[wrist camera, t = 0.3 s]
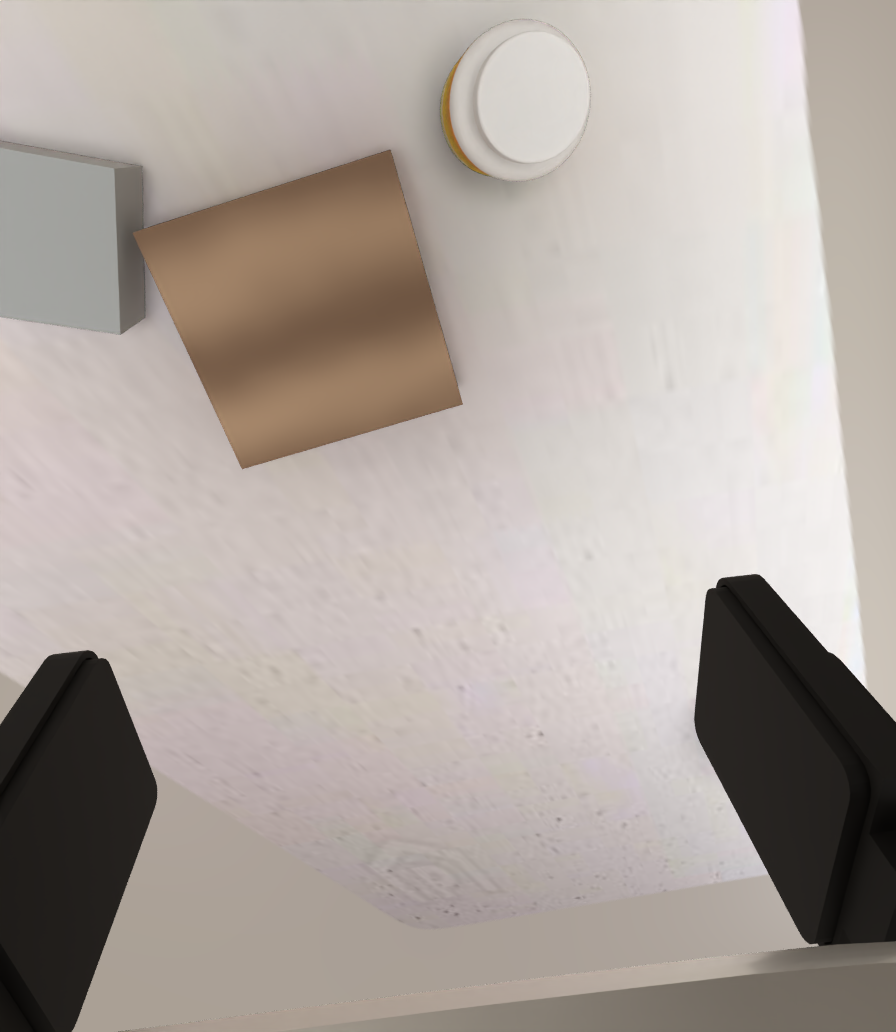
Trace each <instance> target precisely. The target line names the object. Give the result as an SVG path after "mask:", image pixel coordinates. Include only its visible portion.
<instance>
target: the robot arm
mask: <svg viewBox="0 0 896 1032" xmlns="http://www.w3.org/2000/svg"><path fill="white" fill-rule="evenodd" d="M694 721H695V728H696V733H697V736H698V739H699V741H700V743H701V745H702V747H703V749H704V751H705V753H706V755H707V757H708V759H709V760H710V762H711V764H712V766H713V768H714V770H715V772H716V774H717V776H718V778H719V780H720V781H721V783H722V785H723V787H724V789H725V791H726V793H727V795H728V797H729V799H730V801H731V803H732V804H733V806H734V808H735V810H736V812H737V814H738V816H739V818H740V820H741V822H742V824H743V825H744V827H745V829H746V831H747V833H748V835H749V837H750V839H751V841H752V843H753V845H754V847H755V848H756V850H757V852H758V854H759V856H760V858H761V860H762V862H763V864H764V866H765V868H766V869H767V871H768V873H769V875H770V877H771V879H772V881H773V883H774V885H775V887H776V889H777V890H778V892H779V894H780V896H781V898H782V900H783V902H784V904H785V906H786V908H787V909H788V911H789V913H790V915H791V917H792V919H793V921H794V923H795V925H796V927H797V929H798V931H799V932H800V934H801V936H802V937H803V938H804V940H805V941H806V942H808V943H809V944H816V943H818V945H819V946H817V947H807V948H799V949H798V948H797V949H788V950H778V951H768V952H759V953H748V954H739V955H728V956H719V957H711V958H701V959H693V960H685V961H676V962H668V963H660V964H651V965H643V966H635V967H626V968H618V969H610V970H602V971H593V972H585V973H576V974H568V975H560V976H551V977H543V978H534V979H526V980H518V981H510V982H502V983H494V984H486V985H478V986H470V987H463V988H455V989H446V990H439V991H430V992H422V993H414V994H407V995H398V996H390V997H382V998H375V999H366V1000H358V1001H351V1002H343V1003H335V1004H327V1005H319V1006H312V1007H304V1008H295V1009H287V1010H280V1011H272V1012H265V1013H257V1014H249V1015H242V1016H234V1017H227V1018H219V1019H211V1020H204V1021H196V1022H189V1023H181V1024H174V1025H166V1026H158V1027H150V1028H143V1029H135V1030H128V1031H120V1032H896V722H895V721H894V720H893V719H892V718H891V717H890V715H889V714H888V713H887V712H886V711H885V710H884V709H883V707H882V706H881V705H880V704H879V703H878V702H877V701H876V700H875V698H874V697H873V696H872V695H871V694H870V693H869V692H868V690H867V689H866V688H865V687H864V686H863V685H862V684H861V683H860V681H859V680H858V679H857V678H856V677H855V676H854V675H853V674H852V672H851V671H850V670H849V669H848V668H847V667H846V666H845V665H844V663H843V662H842V661H841V660H840V659H839V658H837V657H836V656H835V655H834V654H832V653H829V652H828V651H827V650H826V649H825V648H824V647H823V646H822V644H821V643H820V642H819V641H818V640H817V639H816V638H815V636H814V635H813V634H812V633H811V632H810V631H809V630H808V628H807V627H806V626H805V625H804V624H803V623H802V622H801V620H800V619H799V618H798V617H797V616H796V615H795V614H794V613H793V611H792V610H791V609H790V608H789V607H788V606H787V605H786V603H785V602H784V601H783V600H782V599H781V598H780V597H779V595H778V594H777V593H776V592H775V591H774V590H773V589H772V587H771V586H770V585H769V584H768V583H767V582H766V581H765V579H764V578H763V577H761V576H760V575H757V574H752V575H743V576H735V577H726V578H721V579H720V580H719V581H718V583H717V586H716V588H711V589H709V590H708V591H707V594H706V600H705V610H704V621H703V631H702V642H701V652H700V663H699V673H698V684H697V695H696V705H695V716H694ZM156 800H157V785H156V781H155V778H154V775H153V773H152V770H151V768H150V765H149V762H148V760H147V757H146V755H145V752H144V750H143V747H142V745H141V742H140V740H139V737H138V734H137V732H136V729H135V727H134V724H133V722H132V719H131V717H130V714H129V712H128V709H127V706H126V704H125V701H124V699H123V696H122V694H121V691H120V689H119V686H118V684H117V681H116V678H115V676H114V673H113V671H112V668H111V666H110V664H109V662H108V661H107V660H106V659H104V658H100V659H98V657H97V655H96V654H95V653H94V652H93V651H89V650H87V651H78V652H69V653H61V654H53V655H50V656H48V657H47V658H46V659H45V661H44V662H43V663H42V665H41V666H40V668H39V669H38V671H37V672H36V674H35V675H34V676H33V678H32V679H31V681H30V682H29V684H28V685H27V687H26V688H25V690H24V691H23V692H22V694H21V695H20V697H19V698H18V700H17V701H16V703H15V704H14V706H13V707H12V708H11V710H10V711H9V713H8V714H7V716H6V717H5V719H4V720H3V722H2V723H1V724H0V1032H72V1030H73V1029H74V1026H75V1024H76V1022H77V1019H78V1017H79V1014H80V1011H81V1009H82V1005H83V1003H84V1000H85V997H86V995H87V992H88V989H89V987H90V984H91V981H92V978H93V975H94V973H95V970H96V967H97V965H98V961H99V959H100V956H101V954H102V951H103V948H104V945H105V943H106V940H107V937H108V934H109V932H110V929H111V926H112V924H113V921H114V918H115V915H116V912H117V910H118V907H119V904H120V902H121V899H122V896H123V893H124V891H125V888H126V885H127V882H128V879H129V877H130V874H131V871H132V869H133V866H134V863H135V860H136V858H137V855H138V852H139V850H140V847H141V844H142V841H143V839H144V836H145V833H146V830H147V828H148V825H149V822H150V819H151V817H152V814H153V811H154V808H155V805H156Z"/></svg>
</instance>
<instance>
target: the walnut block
mask: <svg viewBox="0 0 896 1032" xmlns="http://www.w3.org/2000/svg"><path fill="white" fill-rule="evenodd" d="M133 235H134V238H135V240H136V242H137V244H138V246H139V248H140V250H141V253H142V255H143V257H144V259H145V261H146V263H147V265H148V268H149V270H150V272H151V274H152V276H153V278H154V281H155V283H156V285H157V287H158V289H159V291H160V293H161V296H162V298H163V300H164V302H165V304H166V306H167V309H168V311H169V313H170V315H171V317H172V319H173V321H174V324H175V326H176V328H177V330H178V332H179V334H180V337H181V339H182V341H183V343H184V345H185V347H186V349H187V352H188V354H189V356H190V358H191V360H192V362H193V364H194V367H195V369H196V371H197V373H198V375H199V377H200V380H201V382H202V384H203V386H204V388H205V390H206V392H207V395H208V397H209V399H210V401H211V403H212V405H213V408H214V410H215V412H216V414H217V416H218V418H219V420H220V423H221V425H222V427H223V429H224V431H225V433H226V436H227V438H228V440H229V442H230V444H231V446H232V448H233V451H234V453H235V455H236V457H237V459H238V461H239V463H240V466H241V468H242V469H244V468H248V467H251V466H254V465H258V464H261V463H265V462H268V461H271V460H275V459H278V458H282V457H285V456H288V455H292V454H295V453H299V452H302V451H306V450H309V449H312V448H316V447H319V446H323V445H326V444H329V443H333V442H336V441H340V440H343V439H346V438H350V437H353V436H357V435H360V434H363V433H367V432H370V431H374V430H377V429H380V428H384V427H387V426H391V425H394V424H397V423H401V422H404V421H408V420H411V419H414V418H418V417H421V416H425V415H428V414H431V413H435V412H438V411H442V410H445V409H448V408H452V407H455V406H459V405H462V404H463V403H462V400H461V396H460V392H459V389H458V385H457V382H456V378H455V375H454V371H453V368H452V364H451V361H450V357H449V354H448V350H447V347H446V343H445V340H444V336H443V333H442V329H441V326H440V322H439V319H438V315H437V312H436V308H435V304H434V301H433V297H432V294H431V290H430V287H429V283H428V280H427V276H426V273H425V269H424V266H423V262H422V259H421V255H420V252H419V248H418V245H417V241H416V238H415V234H414V231H413V227H412V224H411V220H410V217H409V213H408V210H407V206H406V203H405V199H404V196H403V192H402V189H401V185H400V182H399V178H398V175H397V171H396V168H395V164H394V161H393V157H392V154H391V150H388V151H385V152H382V153H379V154H376V155H372V156H369V157H366V158H363V159H360V160H357V161H354V162H351V163H347V164H344V165H341V166H338V167H335V168H332V169H329V170H326V171H323V172H319V173H316V174H313V175H310V176H307V177H304V178H301V179H298V180H295V181H291V182H288V183H285V184H282V185H279V186H276V187H273V188H270V189H266V190H263V191H260V192H257V193H254V194H251V195H248V196H245V197H242V198H238V199H235V200H232V201H229V202H226V203H223V204H220V205H217V206H214V207H210V208H207V209H204V210H201V211H198V212H195V213H192V214H189V215H185V216H182V217H179V218H176V219H173V220H170V221H167V222H164V223H161V224H157V225H154V226H151V227H148V228H145V229H142V230H139V231H136V232H133Z"/></svg>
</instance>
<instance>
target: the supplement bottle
mask: <svg viewBox="0 0 896 1032" xmlns="http://www.w3.org/2000/svg"><path fill="white" fill-rule="evenodd" d="M590 101H591V92H590V83H589V77H588V73H587V70H586V67H585V64H584V62H583V59H582V57H581V55H580V54H579V52H578V50H577V49H576V47H575V46H574V45H573V44H572V42H571V41H570V40H569V39H568V38H567V37H566V36H565V35H564V34H563V33H562V32H560V31H559V30H557V29H556V28H554V27H553V26H551V25H549V24H546V23H544V22H541V21H537V20H531V19H518V20H511V21H507V22H504V23H501V24H499V25H497V26H495V27H493V28H491V29H489V30H488V31H486V32H485V33H483V34H482V35H481V36H480V37H479V38H477V39H476V40H475V41H474V42H473V43H472V44H471V46H470V47H469V48H468V49H467V50H466V52H465V53H464V54H463V56H462V57H461V58H460V59H459V61H458V62H457V63H456V64H455V66H454V67H453V69H452V70H451V72H450V74H449V76H448V78H447V80H446V83H445V85H444V88H443V92H442V96H441V103H440V117H441V125H442V129H443V133H444V136H445V139H446V141H447V143H448V145H449V147H450V149H451V150H452V152H453V153H454V155H455V156H456V157H457V158H458V159H459V160H460V161H461V162H462V163H463V164H464V165H466V166H467V167H468V168H470V169H471V170H473V171H475V172H477V173H480V174H483V175H486V176H491V177H494V178H497V179H501V180H506V181H516V182H517V181H528V180H533V179H537V178H539V177H542V176H544V175H546V174H548V173H550V172H552V171H553V170H555V169H556V168H557V167H559V166H560V165H561V164H562V163H563V162H564V161H565V160H566V159H567V158H568V157H569V156H570V155H571V154H572V152H573V151H574V149H575V148H576V146H577V145H578V143H579V141H580V139H581V137H582V135H583V133H584V131H585V128H586V125H587V121H588V117H589V111H590Z"/></svg>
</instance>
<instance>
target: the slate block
mask: <svg viewBox="0 0 896 1032" xmlns="http://www.w3.org/2000/svg"><path fill="white" fill-rule="evenodd" d="M142 229H143V182H142V166H137V165H132V164H126V163H121V162H115V161H110V160H104V159H98V158H93V157H87V156H82V155H76V154H71V153H65V152H60V151H54V150H49V149H43V148H38V147H32V146H27V145H21V144H15V143H10V142H4V141H0V317H3V318H10V319H17V320H23V321H30V322H37V323H44V324H50V325H57V326H64V327H71V328H77V329H84V330H91V331H98V332H105V333H111V334H118V335H121V334H122V333H124V332H125V331H127V330H128V329H129V328H131V327H132V326H134V325H135V324H137V323H138V322H140V321H141V320H142V319H144V318H145V276H144V257H143V255H142V253H141V250H140V248H139V246H138V244H137V242H136V240H135V238H134V235H133V232H136V231H139V230H142Z"/></svg>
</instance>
